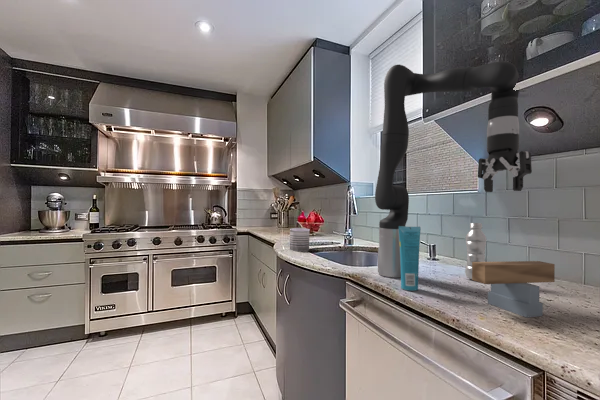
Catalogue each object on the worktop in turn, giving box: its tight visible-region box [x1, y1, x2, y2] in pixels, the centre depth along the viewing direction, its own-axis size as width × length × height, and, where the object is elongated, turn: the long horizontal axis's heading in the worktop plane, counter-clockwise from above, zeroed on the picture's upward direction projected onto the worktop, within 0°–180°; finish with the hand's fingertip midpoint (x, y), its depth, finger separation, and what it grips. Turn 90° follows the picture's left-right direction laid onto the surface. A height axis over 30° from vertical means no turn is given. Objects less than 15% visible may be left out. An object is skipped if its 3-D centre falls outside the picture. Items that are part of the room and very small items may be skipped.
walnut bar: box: [471, 260, 556, 285], centre depth 72 cm, size 4×20×4 cm, turn 100°
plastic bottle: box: [464, 222, 487, 280], centre depth 101 cm, size 6×7×20 cm
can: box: [289, 227, 311, 252], centre depth 163 cm, size 11×11×12 cm
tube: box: [399, 225, 421, 292], centre depth 88 cm, size 7×5×19 cm, turn 107°
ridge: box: [487, 283, 544, 318], centre depth 72 cm, size 10×5×7 cm, turn 15°
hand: (502, 191), depth 82 cm, fingers open, 8 cm apart
